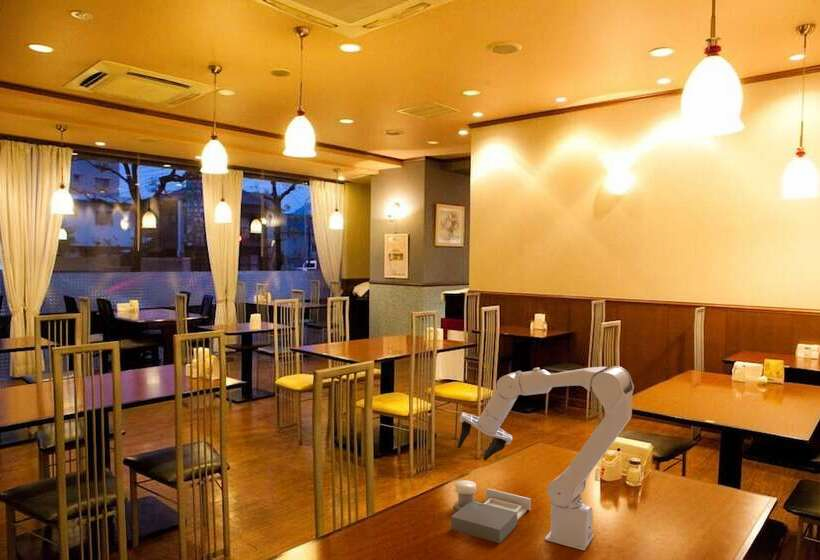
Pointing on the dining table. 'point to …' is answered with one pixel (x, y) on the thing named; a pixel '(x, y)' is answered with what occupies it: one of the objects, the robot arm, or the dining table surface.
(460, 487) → the beige rounded shape
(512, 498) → the tray
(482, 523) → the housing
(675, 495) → the dining table surface
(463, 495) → the grey cup
